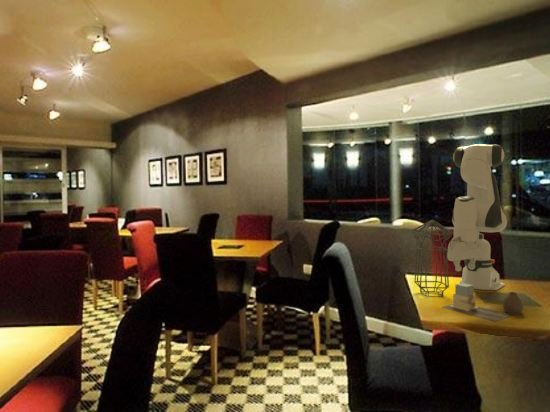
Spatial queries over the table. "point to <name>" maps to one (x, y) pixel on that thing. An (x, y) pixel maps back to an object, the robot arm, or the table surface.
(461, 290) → the top block
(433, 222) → the geometric lantern
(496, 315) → the board
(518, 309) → the vase
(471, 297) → the block
